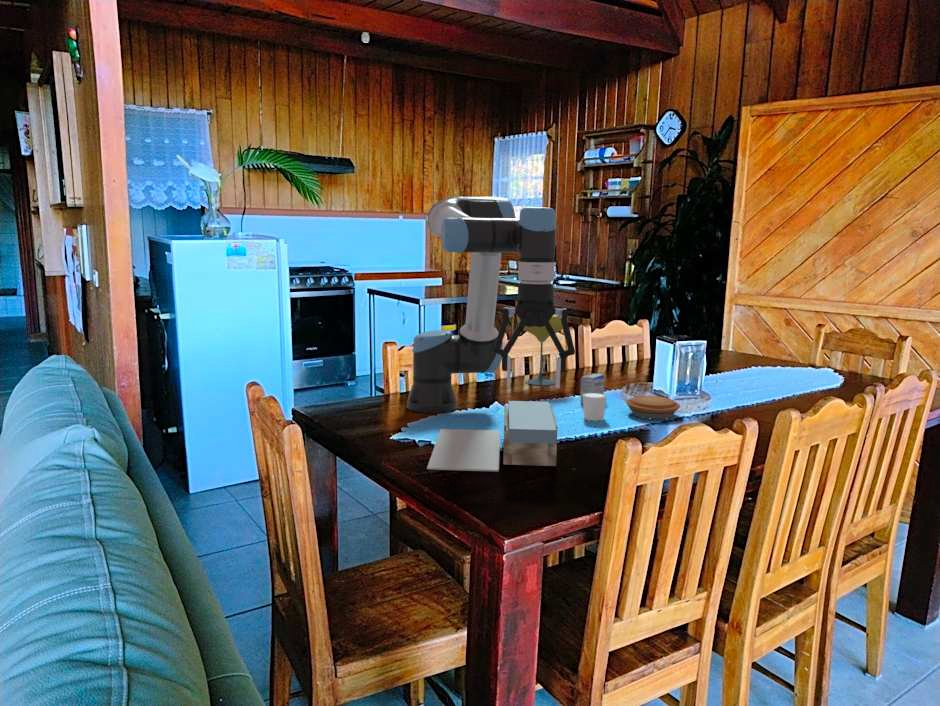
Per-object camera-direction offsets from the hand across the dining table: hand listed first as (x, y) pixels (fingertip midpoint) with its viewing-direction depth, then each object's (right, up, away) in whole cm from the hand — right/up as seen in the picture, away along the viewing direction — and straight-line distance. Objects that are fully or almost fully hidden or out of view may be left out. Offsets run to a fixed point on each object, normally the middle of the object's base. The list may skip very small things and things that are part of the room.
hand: (533, 386), depth 147 cm
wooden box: (+1, -17, +19) cm, 25 cm away
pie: (+41, -12, +57) cm, 71 cm away
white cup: (+22, -12, +52) cm, 57 cm away
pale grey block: (0, -10, +12) cm, 15 cm away
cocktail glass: (+12, -4, +100) cm, 101 cm away
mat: (-14, -16, +21) cm, 30 cm away
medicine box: (+25, -9, +72) cm, 77 cm away
